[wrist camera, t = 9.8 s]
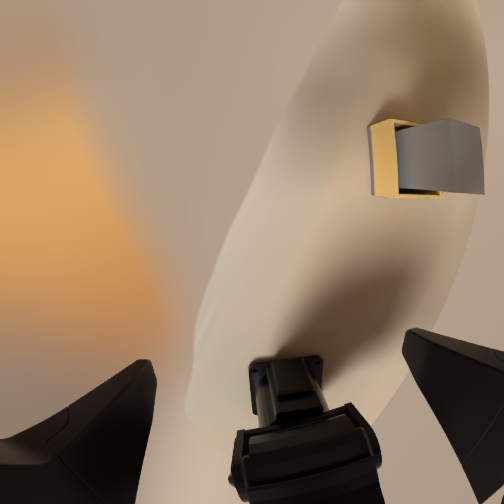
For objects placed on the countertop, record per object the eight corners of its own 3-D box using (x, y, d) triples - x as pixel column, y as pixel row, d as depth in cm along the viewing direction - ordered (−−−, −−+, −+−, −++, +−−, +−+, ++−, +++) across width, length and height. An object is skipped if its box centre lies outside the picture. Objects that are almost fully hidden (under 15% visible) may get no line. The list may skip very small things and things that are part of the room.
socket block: (416, 195, 19) (442, 199, 16) (371, 195, 19) (395, 197, 16) (412, 133, 18) (437, 127, 15) (367, 127, 18) (390, 118, 15)
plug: (412, 187, 19) (484, 194, 11) (383, 187, 19) (454, 192, 11) (409, 139, 18) (479, 128, 10) (379, 136, 18) (448, 118, 10)
